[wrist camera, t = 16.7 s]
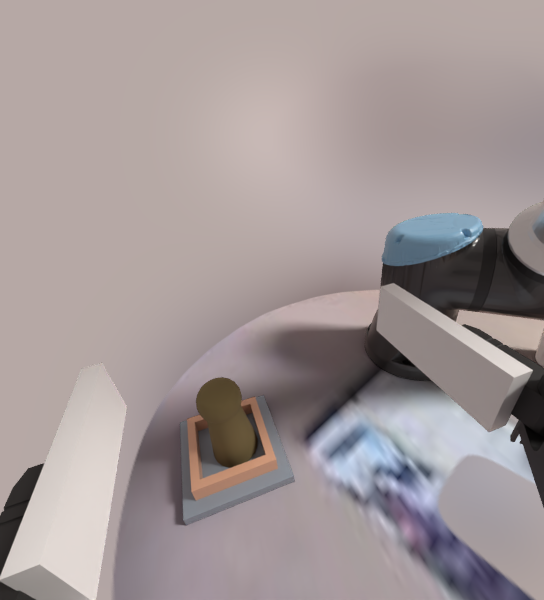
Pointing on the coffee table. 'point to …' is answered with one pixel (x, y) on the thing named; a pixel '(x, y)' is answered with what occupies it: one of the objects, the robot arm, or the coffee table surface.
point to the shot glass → (540, 351)
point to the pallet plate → (230, 481)
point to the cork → (226, 422)
